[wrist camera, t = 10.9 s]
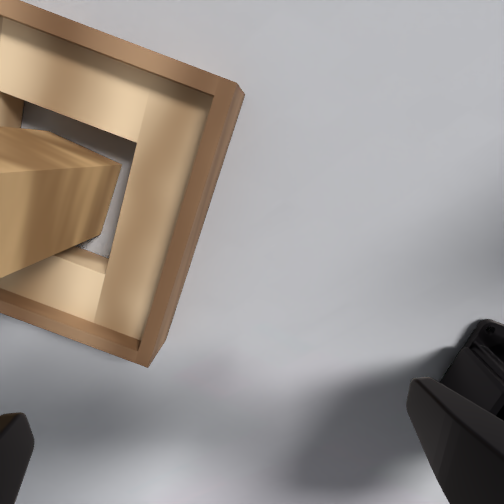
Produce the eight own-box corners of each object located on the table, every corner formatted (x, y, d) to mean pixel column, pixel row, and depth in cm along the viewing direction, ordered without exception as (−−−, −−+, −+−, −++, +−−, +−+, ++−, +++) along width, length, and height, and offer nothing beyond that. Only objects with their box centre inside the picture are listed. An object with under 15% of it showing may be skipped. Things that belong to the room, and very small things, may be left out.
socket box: (245, 94, 18) (237, 83, 15) (165, 340, 22) (147, 367, 19) (-38, -13, 17) (-102, -46, 15) (-59, 256, 22) (-111, 271, 19)
